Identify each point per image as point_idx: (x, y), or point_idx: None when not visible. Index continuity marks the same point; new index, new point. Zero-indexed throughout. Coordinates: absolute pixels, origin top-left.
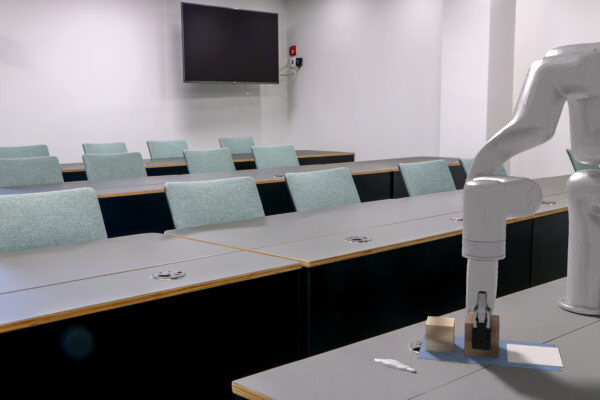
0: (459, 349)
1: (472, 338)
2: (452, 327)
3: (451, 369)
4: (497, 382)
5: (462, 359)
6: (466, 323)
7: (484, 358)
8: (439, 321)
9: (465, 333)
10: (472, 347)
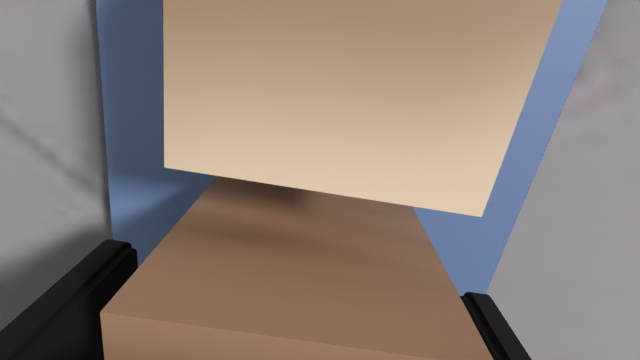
0: None
1: (59, 283)
2: (169, 155)
3: (83, 79)
4: (7, 265)
5: (149, 155)
6: (107, 326)
7: None
8: (346, 2)
9: (158, 249)
10: (105, 243)
